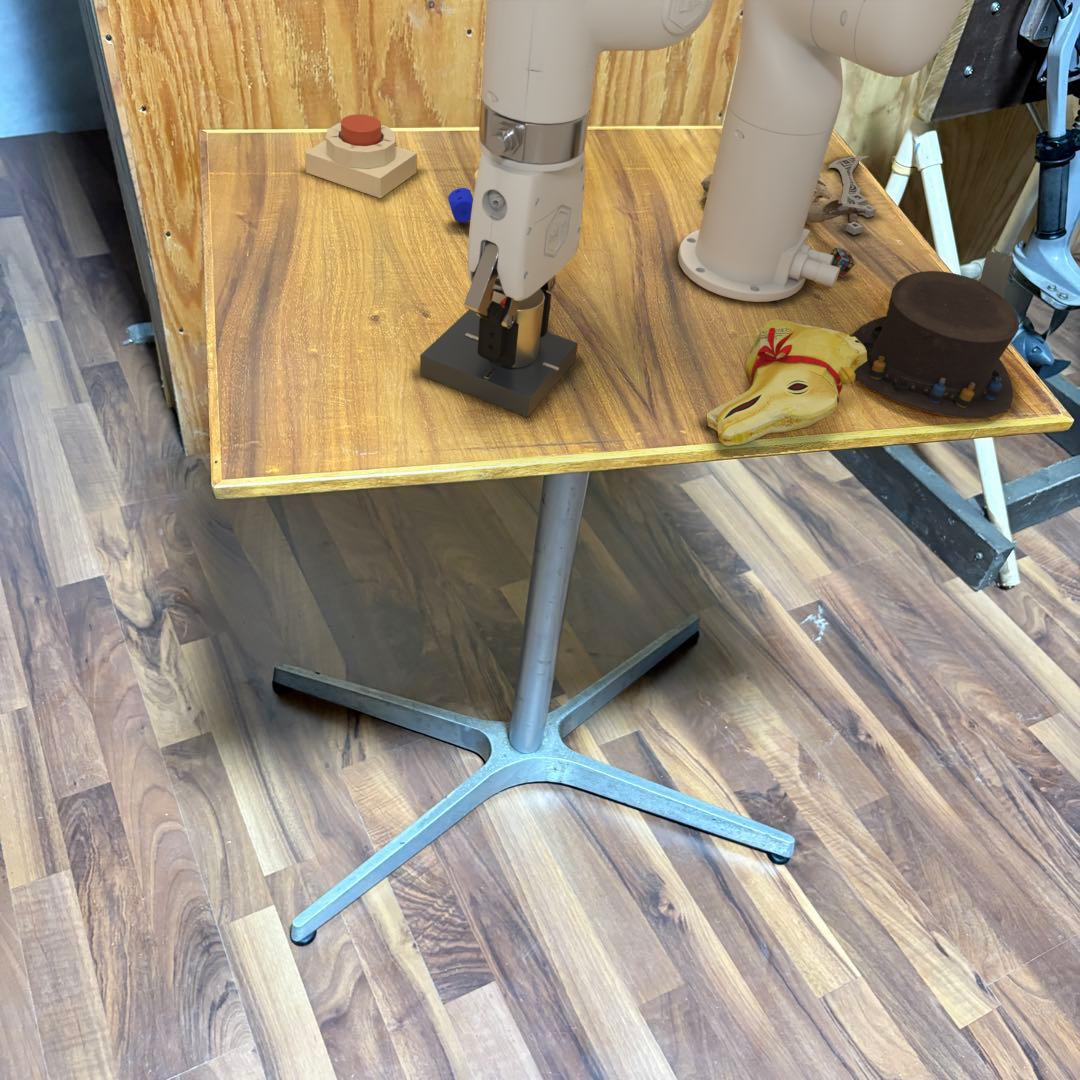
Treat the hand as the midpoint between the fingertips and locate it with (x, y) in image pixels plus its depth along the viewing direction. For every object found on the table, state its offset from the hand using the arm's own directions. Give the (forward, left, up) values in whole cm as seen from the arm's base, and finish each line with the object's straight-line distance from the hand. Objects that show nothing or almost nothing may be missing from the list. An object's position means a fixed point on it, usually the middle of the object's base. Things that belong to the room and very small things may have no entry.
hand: (512, 343), depth 87 cm
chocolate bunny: (-22, -15, +1) cm, 26 cm away
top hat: (-31, -21, -3) cm, 38 cm away
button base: (+29, -22, -3) cm, 37 cm away
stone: (-6, -43, -4) cm, 44 cm away
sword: (-14, -50, -3) cm, 52 cm away
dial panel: (+1, 0, -3) cm, 3 cm away
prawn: (-14, -43, +4) cm, 45 cm away
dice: (+13, -20, -3) cm, 24 cm away
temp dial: (0, 0, -1) cm, 1 cm away
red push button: (+29, -22, +1) cm, 36 cm away
